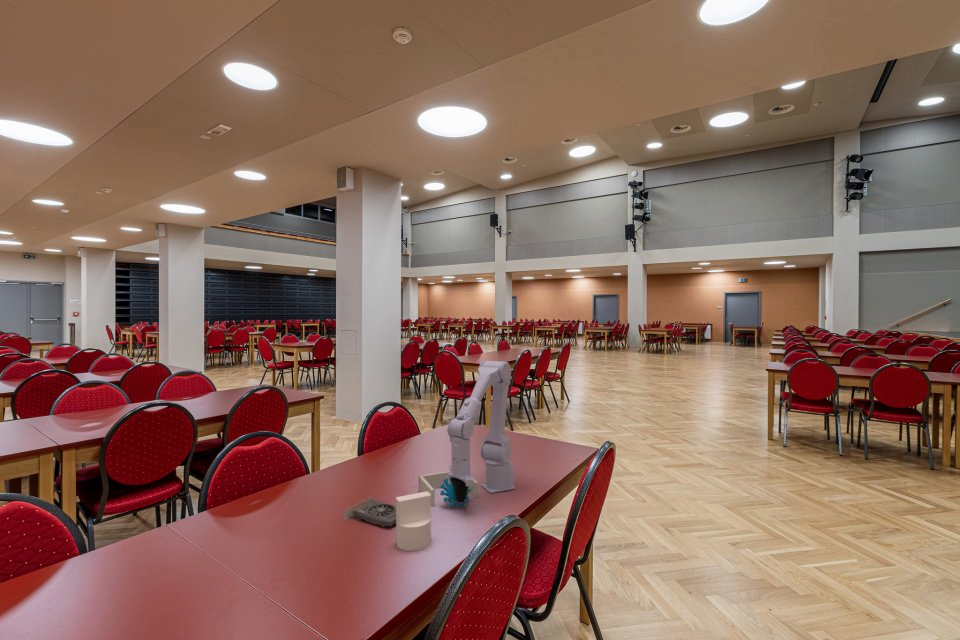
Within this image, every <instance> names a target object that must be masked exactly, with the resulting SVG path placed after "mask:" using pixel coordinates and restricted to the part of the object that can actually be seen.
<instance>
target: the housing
mask: <svg viewBox="0 0 960 640" xmlns="http://www.w3.org/2000/svg"><path fill="white" fill-rule="evenodd" d="M448 473H450V470H448V471H441V472H435V473H428V474H423V475H422V474H421V475H418V492H419V493H421V492H426V491H427V492H429V493H430V494H431V507H434V506H435V490H436V489H441V488H440V486H441V485H442V484H444V485H445V487H446V488H447V486H446V484H445V483H444V480H445V479H448V484H450V477H449V476H448ZM472 479H473V486H469V488H470V487H471V488H472V490H471V491H470V492H469V493H468V494H470V495H471V496H472V497H473V498H474V499H477V498H479V482H478V481H477V480H476V479H474V477H472ZM469 488H468V489H469Z"/></svg>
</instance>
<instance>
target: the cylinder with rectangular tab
mask: <svg viewBox="0 0 960 640" xmlns="http://www.w3.org/2000/svg"><path fill="white" fill-rule="evenodd" d="M395 501H396V502H395V503H396V505H395V506H396V523H395V524H396V525H395V526H396V527H395V529H396V530H395V531H396V532H395V534H396V535H395V538H396V539H395V545H396V544H397V545H396V547H397V548H398V549H399V550H403V551H406V552H407V551H408V552H415V551H421V550H423V549H426V548H427V547H428V546H430V545H431V542H432V513H431V512H432V511H431V510H432V506H431V494H430V493H429V492H427V491H426V492H421V493H420V492H417V493H411V494H407V495H401V496H396V497H395Z"/></svg>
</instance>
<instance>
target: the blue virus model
mask: <svg viewBox="0 0 960 640" xmlns="http://www.w3.org/2000/svg"><path fill="white" fill-rule="evenodd" d="M451 478H454V477H450V479H451ZM444 483H445V484H446V486H447V487H445V485H444V484H442V485H441V486H440V488H439V489H442V490H440V496H445V497H443V502H444V503H447V502H449V503H448V505H449V507H451V508H452V507H453V508H454V506H455V507H456V508H458V509H460V508H461V507H463V506H466V505H467V503H468V502H467V501H468V500H469V499H470V497H471V496H470V495H469V494H470V493H469V492H470V491H471V490H472V488H471V487H470V488H469V489H468V490H467V494H466V498H465V502H460V503H458V502H457V499H456V494H455V490H454V487H453V484H452V482H451V480H450V484H448V479H445V480H444ZM450 501H451V502H450ZM456 502H457V504H456V505H455V503H456Z"/></svg>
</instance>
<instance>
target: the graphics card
mask: <svg viewBox="0 0 960 640" xmlns="http://www.w3.org/2000/svg"><path fill="white" fill-rule="evenodd" d="M342 516H344V517H343V518H342V522H345V521H347V520H349V519H353V518H354V519H355V520H356V519H357V520H358V521H359V520H361V521H365V520H366V521H365V522H368V521H369V523H371V522H372V524H374V523H376V524H375V525H377V524H379V525H378V526H381V525H382V526H381V527H384V526H385V527H392V526H393V525H394V524H396V505H393V504H391V503H390V504H389V503H386V502H383V501H379V500H377V499H373V497H372V496H369V497H368V498H366V499H365V498H364V499H363V500H362V501H360V502H357V503H356V504H354V505H352V506H349V507H347V509H345V510H344V511H343V512H342ZM362 519H363V520H362Z"/></svg>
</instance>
